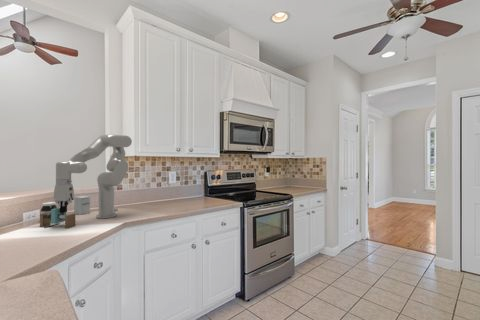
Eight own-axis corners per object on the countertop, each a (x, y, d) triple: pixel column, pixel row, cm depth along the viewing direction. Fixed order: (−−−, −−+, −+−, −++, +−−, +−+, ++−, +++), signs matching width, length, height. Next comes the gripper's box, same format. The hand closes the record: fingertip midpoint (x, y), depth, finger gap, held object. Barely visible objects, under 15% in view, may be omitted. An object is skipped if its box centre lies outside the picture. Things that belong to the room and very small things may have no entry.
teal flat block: (50, 223, 139) (51, 209, 139) (61, 220, 146) (61, 207, 146) (55, 223, 138) (55, 209, 138) (65, 220, 145) (66, 207, 145)
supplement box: (81, 214, 171) (81, 197, 171) (73, 214, 174) (73, 197, 174) (90, 212, 178) (90, 196, 178) (83, 212, 181) (83, 195, 181)
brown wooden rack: (36, 227, 140) (36, 214, 140) (51, 223, 148) (51, 211, 148) (64, 229, 136) (64, 216, 136) (78, 225, 145) (78, 212, 145)
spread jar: (45, 218, 160) (45, 201, 160) (65, 217, 164) (65, 200, 164) (37, 223, 148) (37, 205, 148) (58, 221, 152) (58, 204, 152)
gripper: (79, 181, 144) (79, 211, 144) (58, 181, 146) (58, 210, 146) (68, 183, 136) (68, 214, 136) (47, 182, 139) (47, 213, 139)
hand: (63, 212), depth 141 cm, fingers closed
